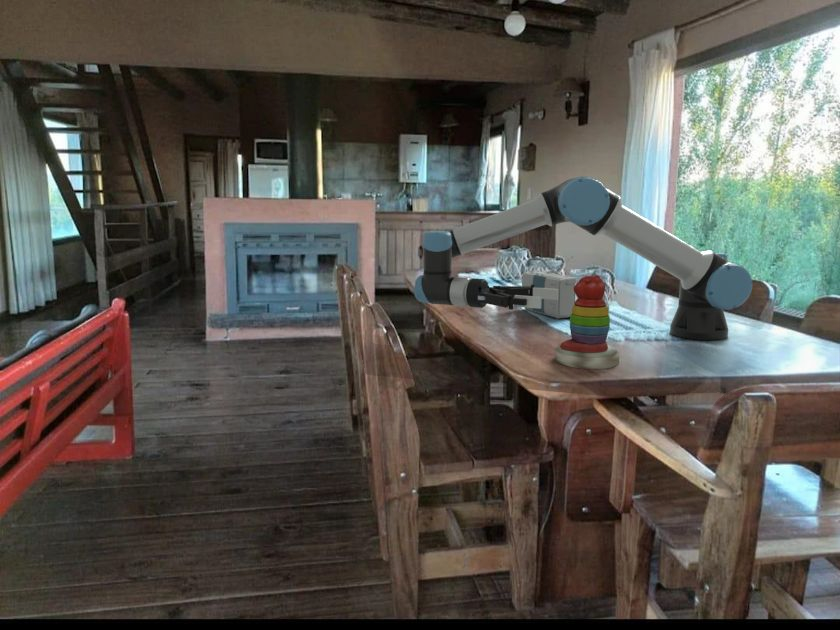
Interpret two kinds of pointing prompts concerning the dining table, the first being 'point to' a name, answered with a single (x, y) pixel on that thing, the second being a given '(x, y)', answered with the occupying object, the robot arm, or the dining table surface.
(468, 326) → the dining table surface
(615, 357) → the stand
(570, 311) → the stereo radio cassette player
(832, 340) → the dining table surface
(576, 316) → the stacking bear
